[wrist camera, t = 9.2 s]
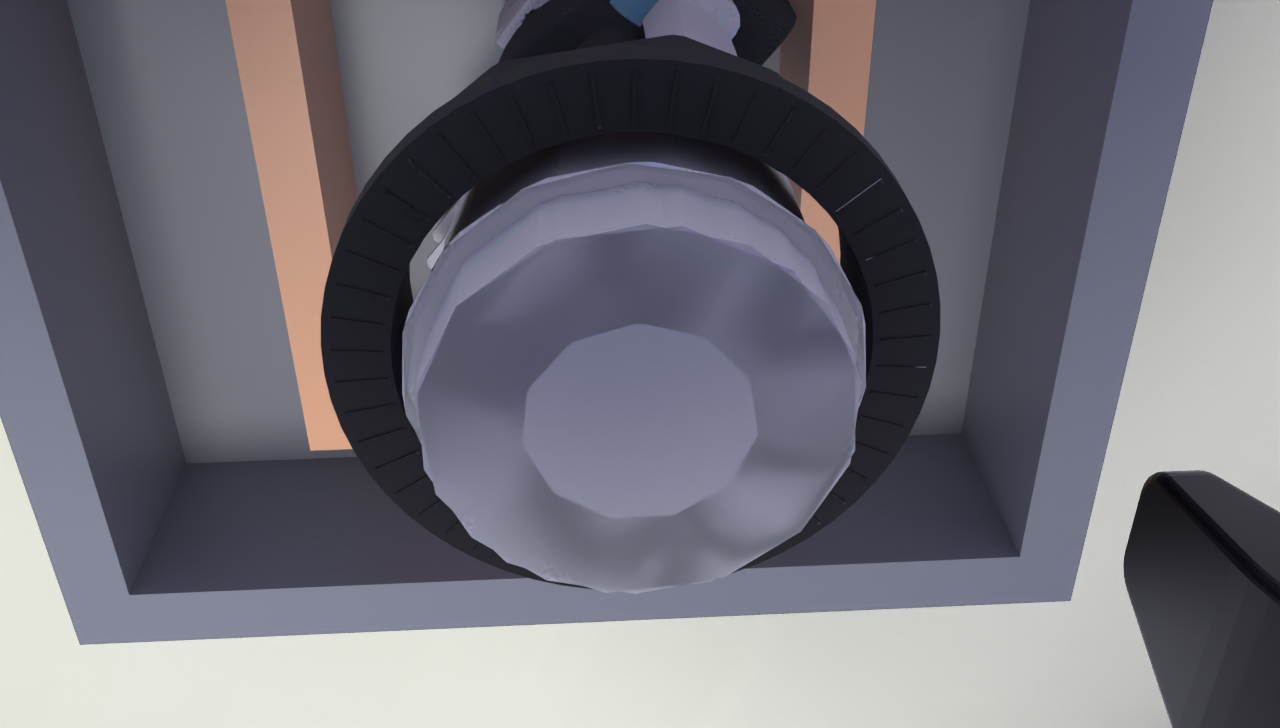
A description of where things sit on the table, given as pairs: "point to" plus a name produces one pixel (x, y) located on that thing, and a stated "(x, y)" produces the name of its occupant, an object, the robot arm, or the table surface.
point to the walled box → (313, 222)
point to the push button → (630, 303)
